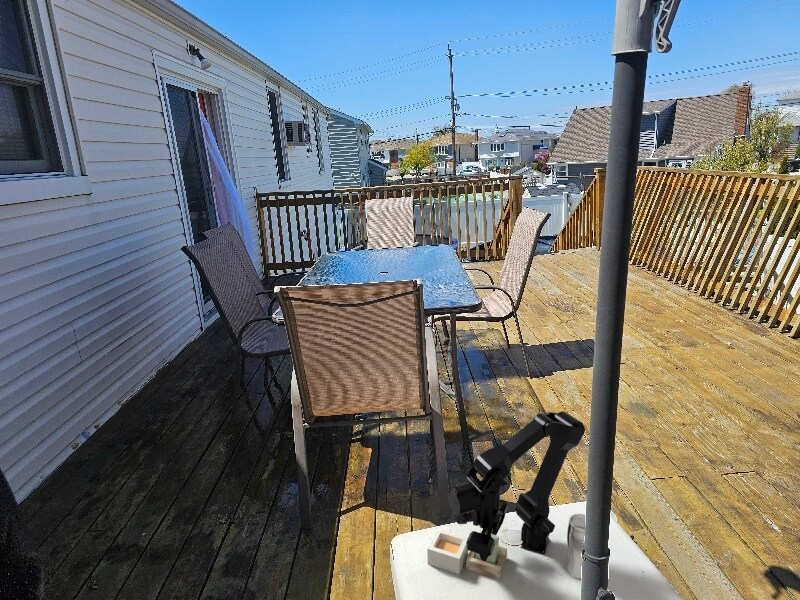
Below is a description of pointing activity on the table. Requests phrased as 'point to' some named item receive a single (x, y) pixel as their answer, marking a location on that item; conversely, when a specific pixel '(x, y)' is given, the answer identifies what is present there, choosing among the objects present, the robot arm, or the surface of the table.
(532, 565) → the table surface
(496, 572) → the tan wooden frame
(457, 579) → the table surface
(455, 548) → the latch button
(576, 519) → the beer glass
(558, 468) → the robot arm
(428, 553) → the socket
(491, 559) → the plug
